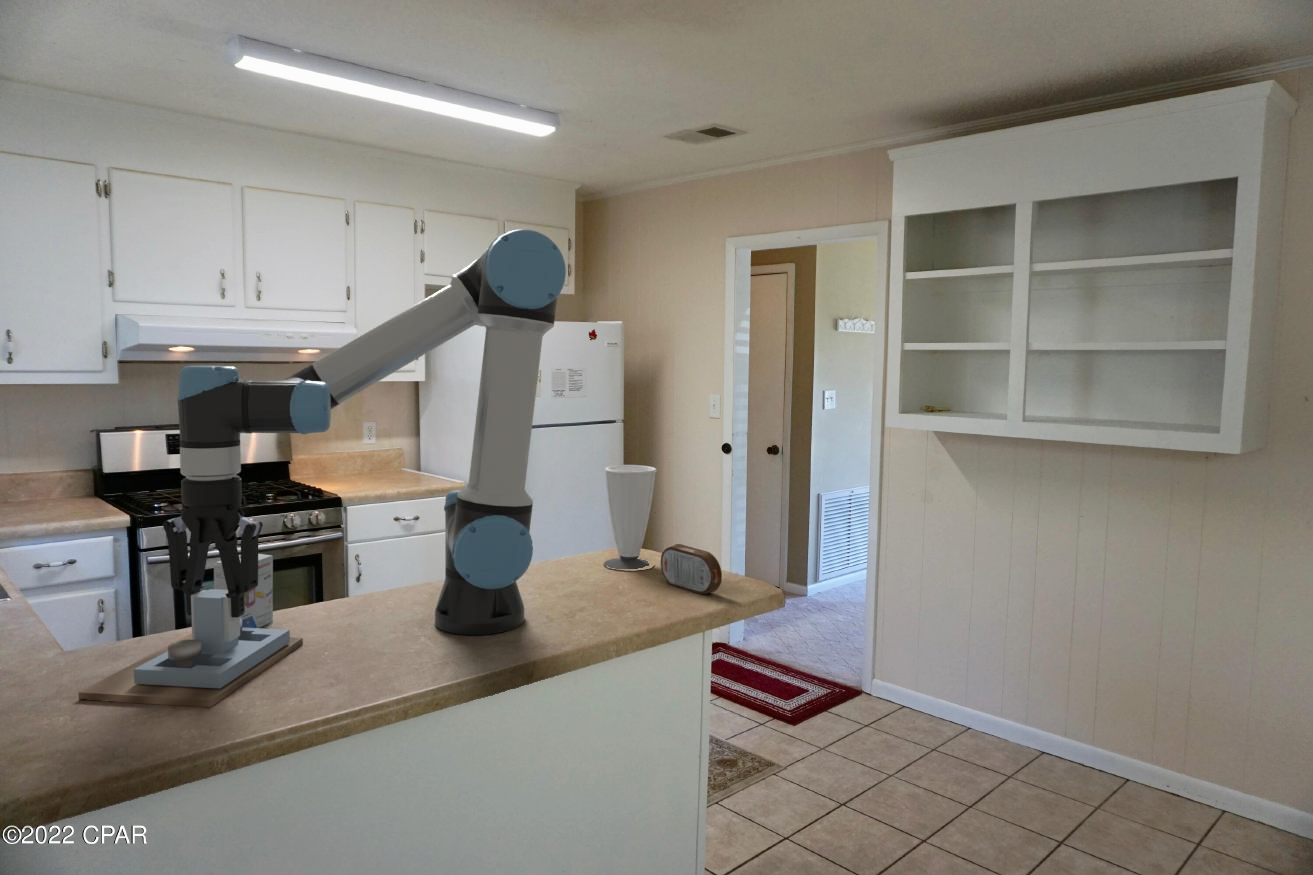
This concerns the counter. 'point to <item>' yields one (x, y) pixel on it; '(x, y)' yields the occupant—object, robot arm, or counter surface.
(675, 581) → the tin
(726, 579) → the counter surface
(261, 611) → the ink box
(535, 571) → the counter surface
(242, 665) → the panel
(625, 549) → the cup
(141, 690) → the boss board
